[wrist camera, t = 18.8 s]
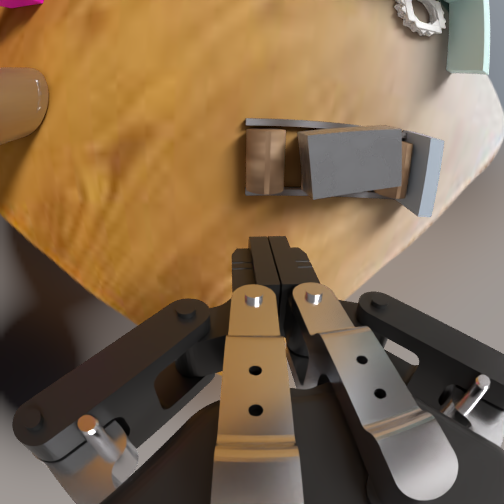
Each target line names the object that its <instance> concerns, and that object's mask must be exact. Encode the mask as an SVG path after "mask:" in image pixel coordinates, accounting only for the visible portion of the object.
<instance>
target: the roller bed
mask: <svg viewBox="0 0 504 504" xmlns="http://www.w3.org/2000/svg"><path fill="white" fill-rule="evenodd" d="M246 125H262V126H293V127H310V128H324V129H331V128H344V127H359V125H351V124H342V123H332V122H320V121H307V120H289V119H256V118H246ZM305 131H310V130H305ZM401 133H402V138H405V139H407V133H405V132H401ZM285 143H286V130H283V129H275V128H249V129H246V187H245V195H289V196H309V195H308V194H306V193H305V192H304V191H303V184H302V181H301V187H284V168H285ZM412 151H413V144H412V143H409V142H405V141H402V182H401V186H399V187H391V188H384V189H378V190H371V191H364V192H358V193H351V194H345V195H339V196H335V197H361V198H381V199H397V200H398V199H403V198H405V197H406V192H407V186H408V179H409V173H410V166H411V159H412Z"/></svg>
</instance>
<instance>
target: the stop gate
mask: <svg viewBox="0 0 504 504" xmlns="http://www.w3.org/2000/svg"><path fill="white" fill-rule="evenodd" d="M403 132H405V133H407V139H405V138H403V139H402V141H405V142H409V143H412V144H413V151H412V159H411V166H410V173H409V179H408V186H407V192H406V197H405V198H403V199H398V200H397V199H395V200H397V201H398V202H399V203H401V204H402V205H403V206H405V207H406V208H407V209H409V210H410V211H411V212H413V213H414V214H415V215H417V216H418V217H431V216H432V211H433V206H434V202H435V197H436V191H437V186H438V181H439V175H440V169H441V162H442V155H443V148H444V141H443V140H440V139H437V138H433V137H430V136H427V135H423V134H420V133H416V132H411V131H405V130H403Z"/></svg>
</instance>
